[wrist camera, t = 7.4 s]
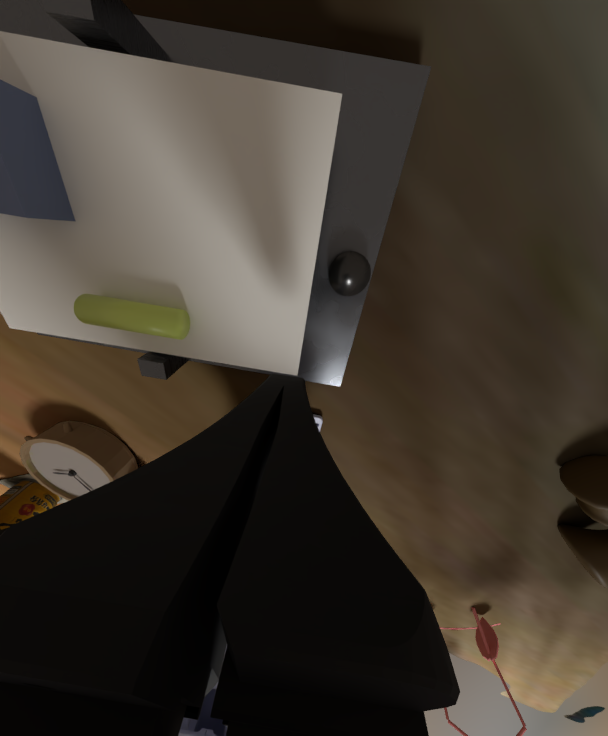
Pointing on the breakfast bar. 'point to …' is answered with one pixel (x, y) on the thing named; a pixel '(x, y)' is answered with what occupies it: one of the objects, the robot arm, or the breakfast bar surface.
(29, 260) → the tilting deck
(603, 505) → the kendama
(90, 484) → the alarm clock
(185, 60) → the base
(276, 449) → the robot arm
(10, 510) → the condiment
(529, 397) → the breakfast bar surface
